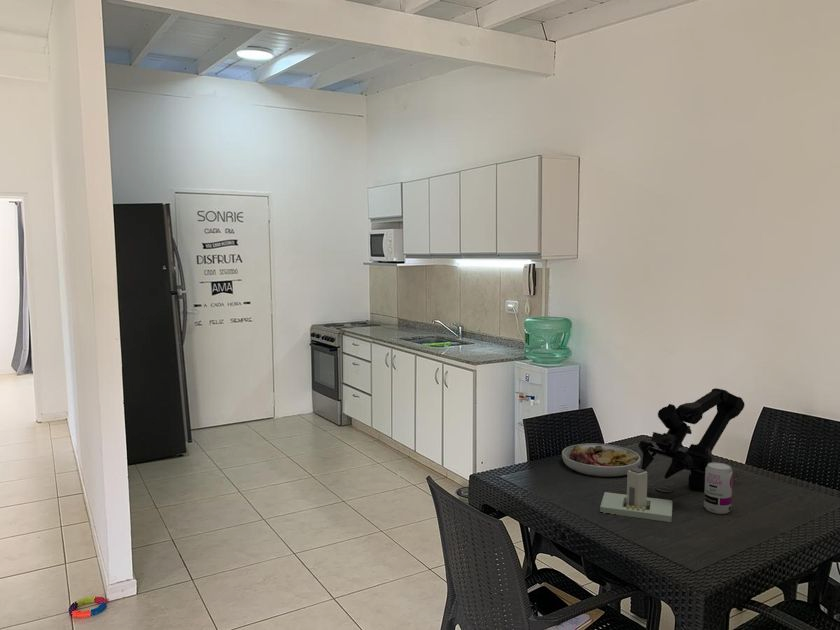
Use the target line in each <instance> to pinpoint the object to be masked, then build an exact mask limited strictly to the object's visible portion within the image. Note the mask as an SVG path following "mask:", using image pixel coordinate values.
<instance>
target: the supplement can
mask: <svg viewBox="0 0 840 630" xmlns="http://www.w3.org/2000/svg"><path fill="white" fill-rule="evenodd" d="M733 475H734V473H733V469H732V467H731V465H730V464H727V463H722V462H712V463H709V464H708V465H707V467H706V468H705V492H704V491H703V493H704V495H703V497H704V498H703V499H704V500H703V507H704V509H705V510H706V511H708V512H710V513H712V514H713V513H714V514H718V515H724V514H726V515H727V514H728V513H730V512H731V510H732V498H733V497H732V495H733Z"/></svg>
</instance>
